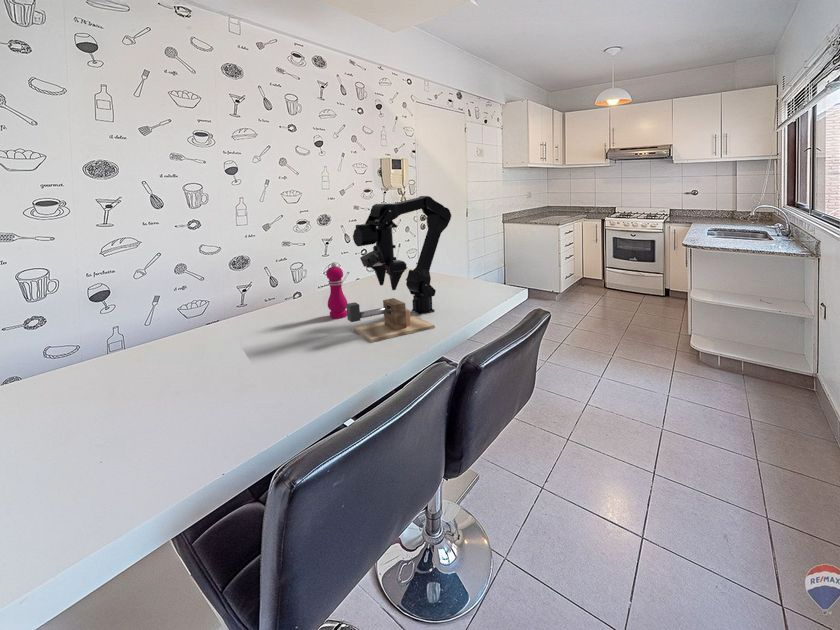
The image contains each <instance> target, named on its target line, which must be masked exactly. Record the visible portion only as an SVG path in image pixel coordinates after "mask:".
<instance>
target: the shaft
mask: <svg viewBox="0 0 840 630" xmlns="http://www.w3.org/2000/svg"><path fill="white" fill-rule="evenodd" d="M346 307H347V308H346V311H347V316H346V317H347V321H349V322H351V323H355V322H360V321H361V319H365V318H369V317H375V316H379V315H384V314H385V313H391V306H389V307H384V308H383V307H380V308H376V309H370V310H364V311H360V309H361V308H360V304H359V303H357V302H350V303H348V302H347V304H346Z"/></svg>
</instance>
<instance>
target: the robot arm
mask: <svg viewBox="0 0 840 630" xmlns="http://www.w3.org/2000/svg"><path fill="white" fill-rule="evenodd" d="M419 210H421V211H422V213H423V215H425V216H426V225H427V232H426V235H425V238H424V241H423V245H422V247H421V251H420V254H419V257H418V261H417V263H416V266H415V268H414V269H409V271H408V273H407V277H406V279H405V281H406V284H405V285H406V287H407V289H408V291H409V293H410V295H412V296H413V297H412V298H413V299H412V309H411V311H412V312H414V313H416V314H419V315H423V314H428V313H433V312H435V310H436V309H433V297H435V296H436V290H437V289H435V288H434V287H433V286H432V285H431V274H430V273H431V272H430V269H431V266H432V263H433V260H434V257H435V254H436V251H437V247H438V243H439V241H440V239H441V238H440V237H441V234H442V233H443V232H444V230H446V229H447V227H448V225H449V224H450V222H451V218H452V213H451V210H450V209H449V208H448V207H445V206H444V205H443V204H441V203H440V202H438V201H436V200H435V199H433V197H432V196H429V195H420V196H418V197H415V198H410V199H406V200H403V201H400V202H399V201H398V202H395V203H375V204H372V206H371V208H370V213H369V214H368V217H367V218H366V221H365V223H364V224H355V229H354V231H353V235H352V240H353V242H354V244H355V246H357V247H363V246H364V247H365V246H370V245H373V247H372V248H373V249H372V251H369V252H367V253H366V254H364V255H362V256H360V257H359V259H360V261H361V263H362V265H363V267H364V268H365V267H366V268H370V269H371V270H373V271H374V273H375V276H376V278H377V281H378V283H379V286H384V283H385V277H386V274H387V276H389V280H390V286H391V290H392V291H396V290H397V287H398V285H399V283H400V280H401V278H402V276H403V273H404V272H405V271H406V270H407V269H408V268H407V263H406V262H405V261H404V260H400V259H397V257H396V256H395V253H394V249H396V244H394V239H393V229H395V228H397V227H398V225H397V223H395V222H394V220H396V219H398V217H400V216H401V215H404V214H408V213H412V212H414V211H419Z"/></svg>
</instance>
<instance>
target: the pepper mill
mask: <svg viewBox="0 0 840 630" xmlns="http://www.w3.org/2000/svg"><path fill="white" fill-rule="evenodd" d="M325 275H326V277H327V279H328V285H329V288H330V292H329V296H328V297H329V298H328V299H327V308H328V310H330V311H329V317H330V319H331V318H332V319H343V317H344V318H346V317H347V307H346V304H348V300H347V298H346V296H345V294H344V291H343V287H342V285H343V283H344V282H343V279H342V278H343V277H344V270H343V269H342V268H341V267H339V266H337V263H336V262H332V263H331V266H330V267H329V268H328V269H327V270H326V274H325Z"/></svg>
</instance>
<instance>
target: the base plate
mask: <svg viewBox="0 0 840 630" xmlns="http://www.w3.org/2000/svg"><path fill="white" fill-rule="evenodd" d="M431 328H432V329H435V328H436V325H435V324H434V323H431V322H430V321H427V320H425V319H422V318H421V317H418V316H416V315H414V314H413V315H410V326H407V327H406V328H404V329H399V330H394V329H392V328H391V327H389V326H387V325H385V323H384V321H383V320H382V321H378V322H374V323H368V324H364V325H360V326H359V325H358V326H355V327H353V331H354V332H356V333H357V334H358V335H360V336H362V337H363V338H364V339H366V340H367V341H369V342H370V343H374V342H379V341H384V340H387V339H392V338H393V339H394V338H395V337H400V336H406V335H409V334H414V333H418V332H423V331H427V329H428V330H430V329H431ZM432 329H431V330H432Z"/></svg>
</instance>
